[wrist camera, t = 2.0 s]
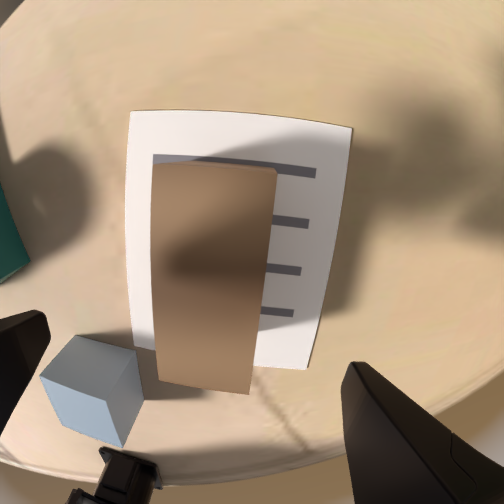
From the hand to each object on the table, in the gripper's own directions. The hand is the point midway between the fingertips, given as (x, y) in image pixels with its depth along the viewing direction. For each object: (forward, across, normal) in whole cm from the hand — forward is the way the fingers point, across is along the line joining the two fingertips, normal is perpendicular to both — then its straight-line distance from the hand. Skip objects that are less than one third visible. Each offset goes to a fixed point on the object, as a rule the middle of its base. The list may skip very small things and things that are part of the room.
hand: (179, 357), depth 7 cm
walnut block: (+8, 0, 0) cm, 8 cm away
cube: (+8, +8, +10) cm, 15 cm away
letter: (+8, 0, 0) cm, 8 cm away
